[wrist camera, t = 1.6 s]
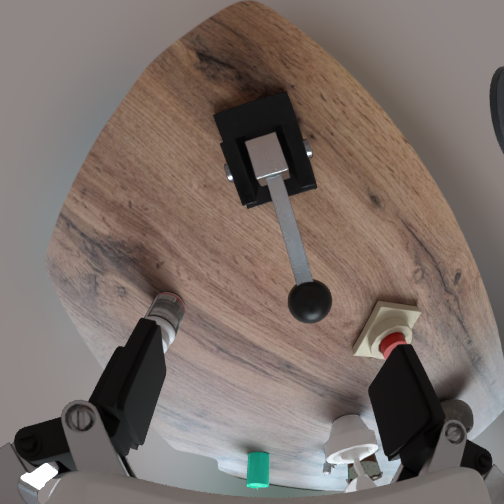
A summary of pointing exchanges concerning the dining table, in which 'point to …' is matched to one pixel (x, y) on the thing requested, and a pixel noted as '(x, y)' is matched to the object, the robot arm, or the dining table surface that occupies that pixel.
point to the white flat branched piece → (328, 467)
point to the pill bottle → (167, 315)
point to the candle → (258, 470)
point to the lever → (289, 229)
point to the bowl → (458, 412)
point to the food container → (366, 469)
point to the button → (391, 343)
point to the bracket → (256, 125)
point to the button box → (385, 327)
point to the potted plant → (351, 448)
